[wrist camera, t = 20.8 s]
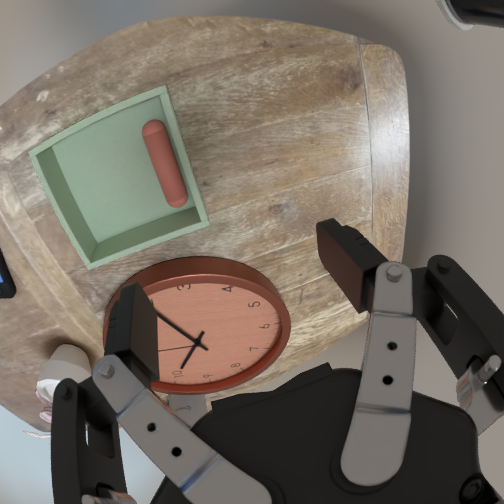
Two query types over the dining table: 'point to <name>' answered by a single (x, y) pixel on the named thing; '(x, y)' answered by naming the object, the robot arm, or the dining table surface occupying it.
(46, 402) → the teacup
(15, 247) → the dining table surface
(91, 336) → the dining table surface
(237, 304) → the clock
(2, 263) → the game console
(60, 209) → the bin
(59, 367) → the potted plant
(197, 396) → the mug
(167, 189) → the pink capsule cylinder
